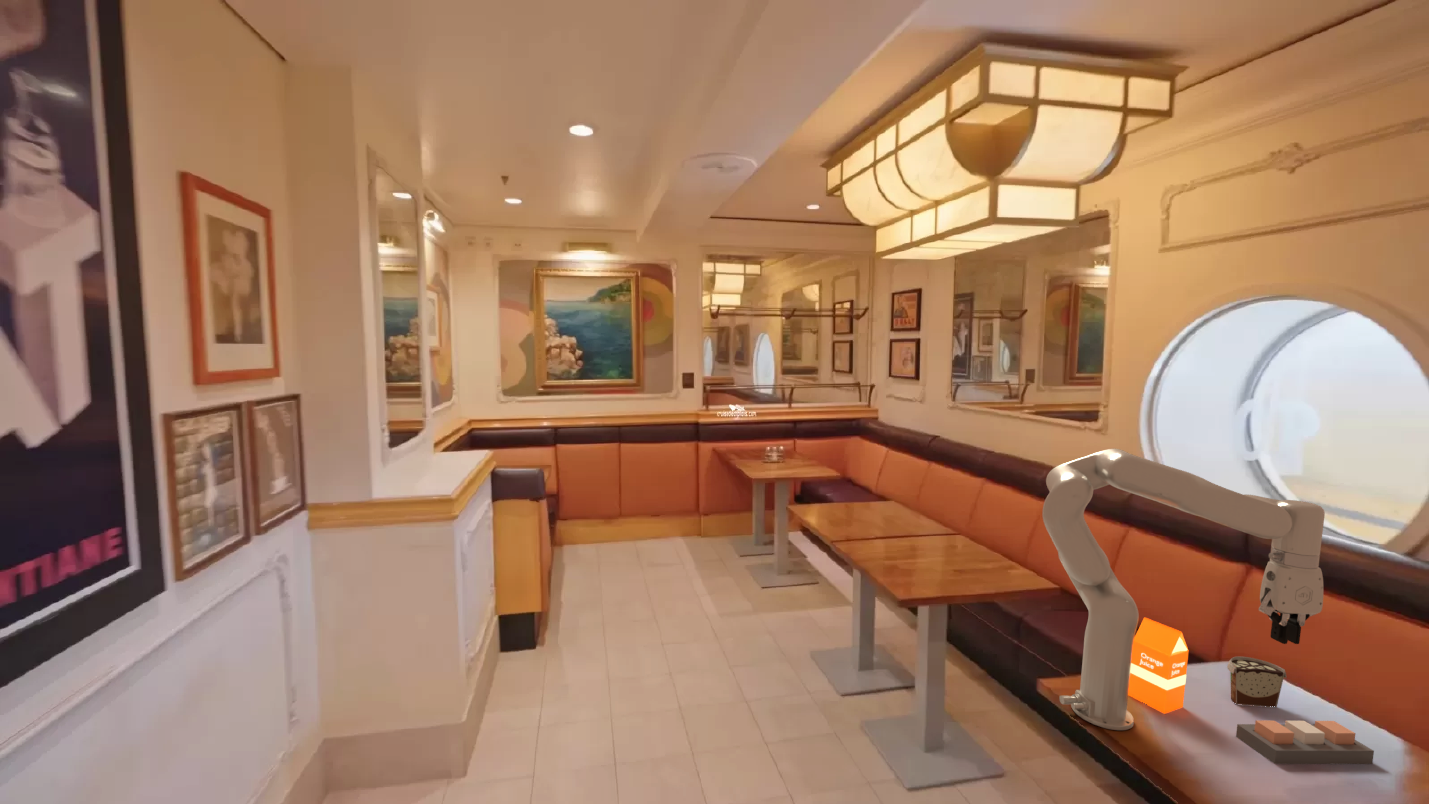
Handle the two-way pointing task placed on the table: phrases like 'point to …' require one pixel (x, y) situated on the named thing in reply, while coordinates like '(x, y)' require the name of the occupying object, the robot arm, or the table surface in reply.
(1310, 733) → the middle button
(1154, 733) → the table surface
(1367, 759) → the control panel
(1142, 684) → the orange juice
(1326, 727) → the outer button
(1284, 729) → the inner button
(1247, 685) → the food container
